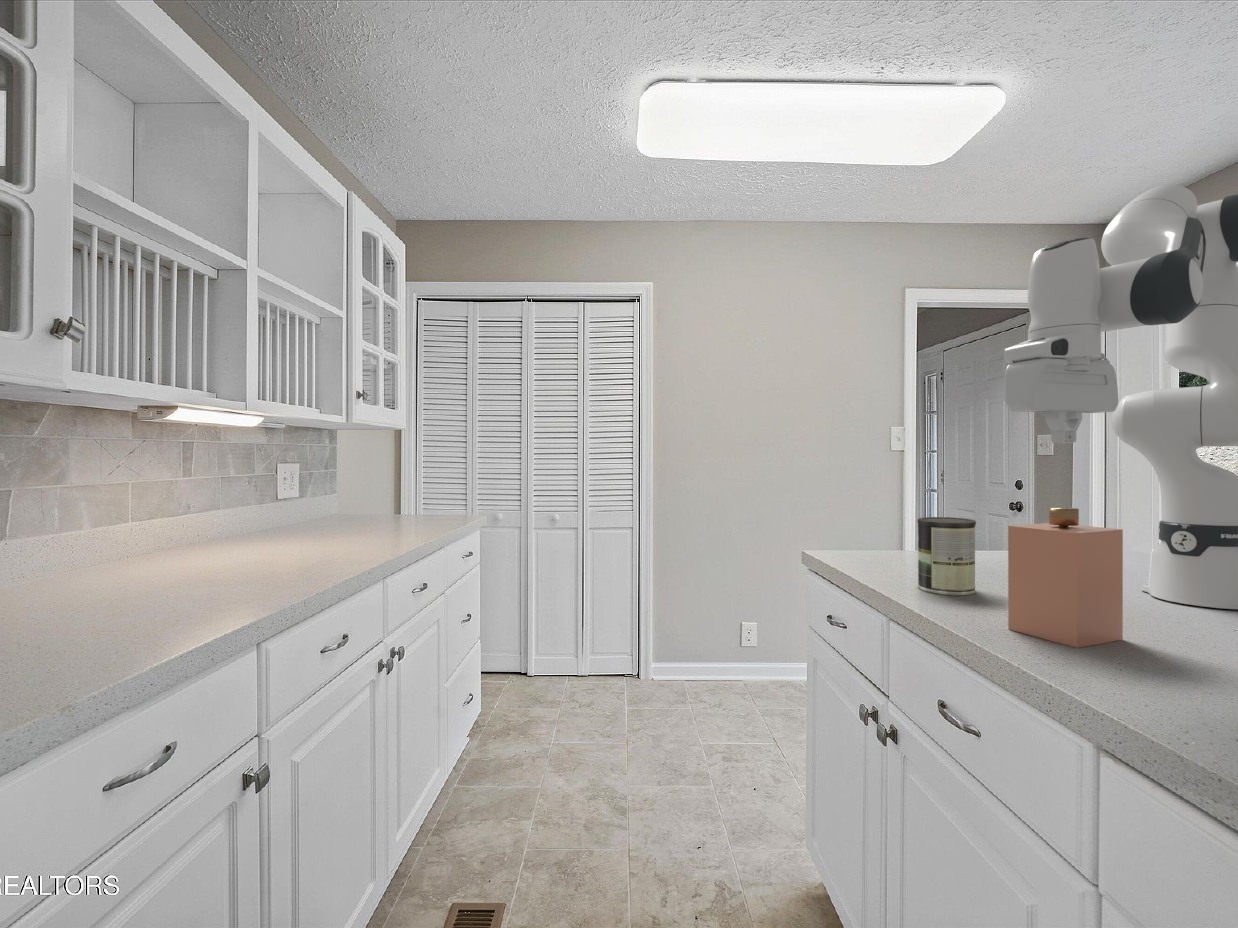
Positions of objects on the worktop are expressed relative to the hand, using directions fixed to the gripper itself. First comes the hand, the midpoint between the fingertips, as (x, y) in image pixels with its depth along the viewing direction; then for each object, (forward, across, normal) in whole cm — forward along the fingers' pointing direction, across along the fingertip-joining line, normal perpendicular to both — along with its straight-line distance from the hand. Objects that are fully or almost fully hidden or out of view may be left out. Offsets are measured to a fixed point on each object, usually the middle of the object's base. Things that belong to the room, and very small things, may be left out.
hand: (1063, 442), depth 91 cm
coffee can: (+29, -10, -29) cm, 42 cm away
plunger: (+23, 0, 0) cm, 23 cm away
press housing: (+29, 0, 0) cm, 29 cm away
